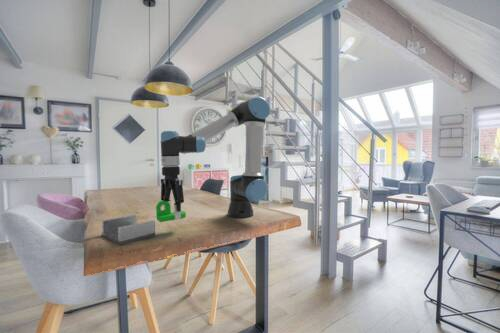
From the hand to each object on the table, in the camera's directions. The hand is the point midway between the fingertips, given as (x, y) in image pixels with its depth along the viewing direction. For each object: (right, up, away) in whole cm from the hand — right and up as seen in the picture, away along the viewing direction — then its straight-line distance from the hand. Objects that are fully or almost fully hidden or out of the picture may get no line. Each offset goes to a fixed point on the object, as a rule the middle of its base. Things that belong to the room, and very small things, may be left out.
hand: (172, 217), depth 107 cm
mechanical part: (0, -1, 0) cm, 1 cm away
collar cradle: (-17, -7, -5) cm, 19 cm away
